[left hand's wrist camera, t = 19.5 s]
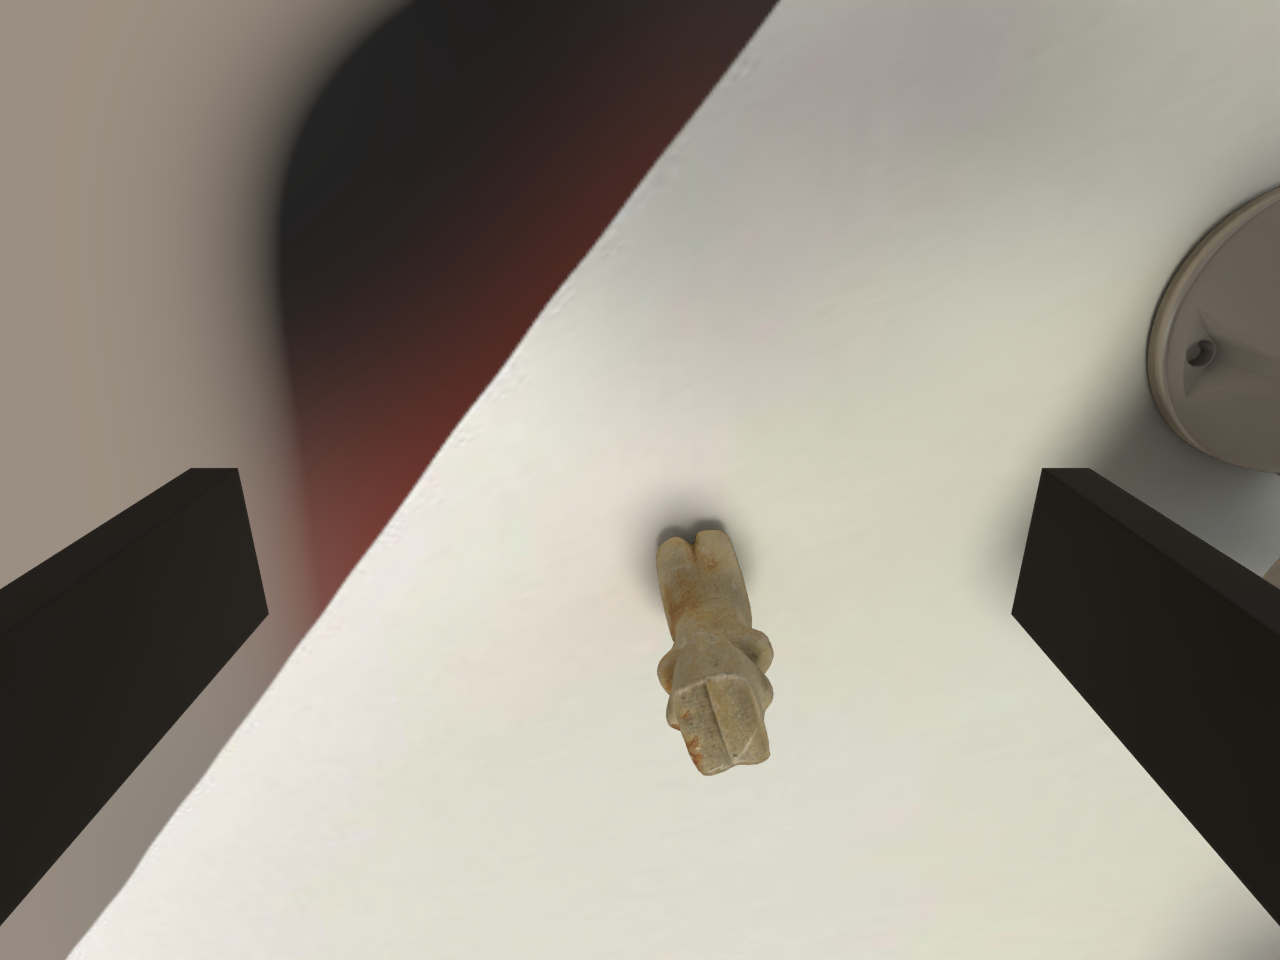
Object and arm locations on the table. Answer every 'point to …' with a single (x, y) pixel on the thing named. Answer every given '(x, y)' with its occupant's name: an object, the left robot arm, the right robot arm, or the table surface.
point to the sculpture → (713, 654)
